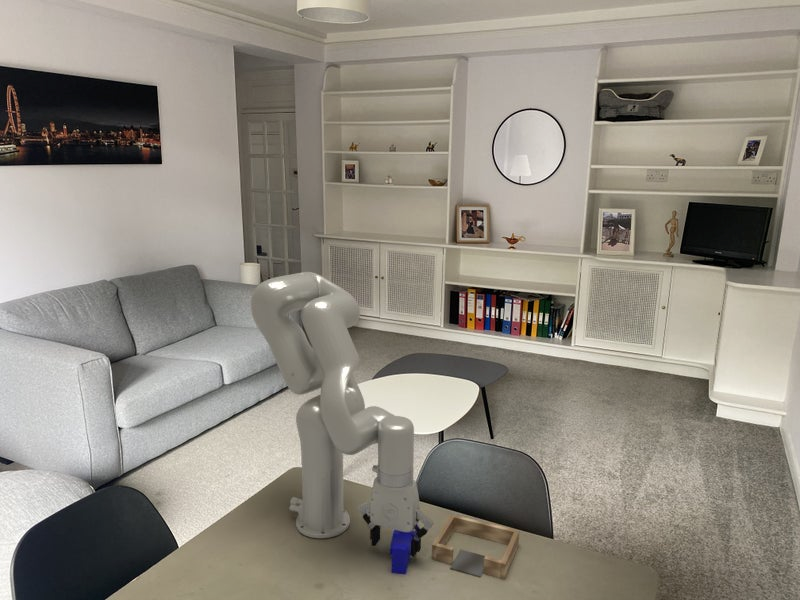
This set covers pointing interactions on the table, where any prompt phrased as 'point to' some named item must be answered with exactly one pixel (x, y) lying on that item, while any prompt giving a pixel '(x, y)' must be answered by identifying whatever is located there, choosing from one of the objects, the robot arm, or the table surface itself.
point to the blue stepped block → (400, 551)
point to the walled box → (473, 561)
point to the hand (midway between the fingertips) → (395, 548)
